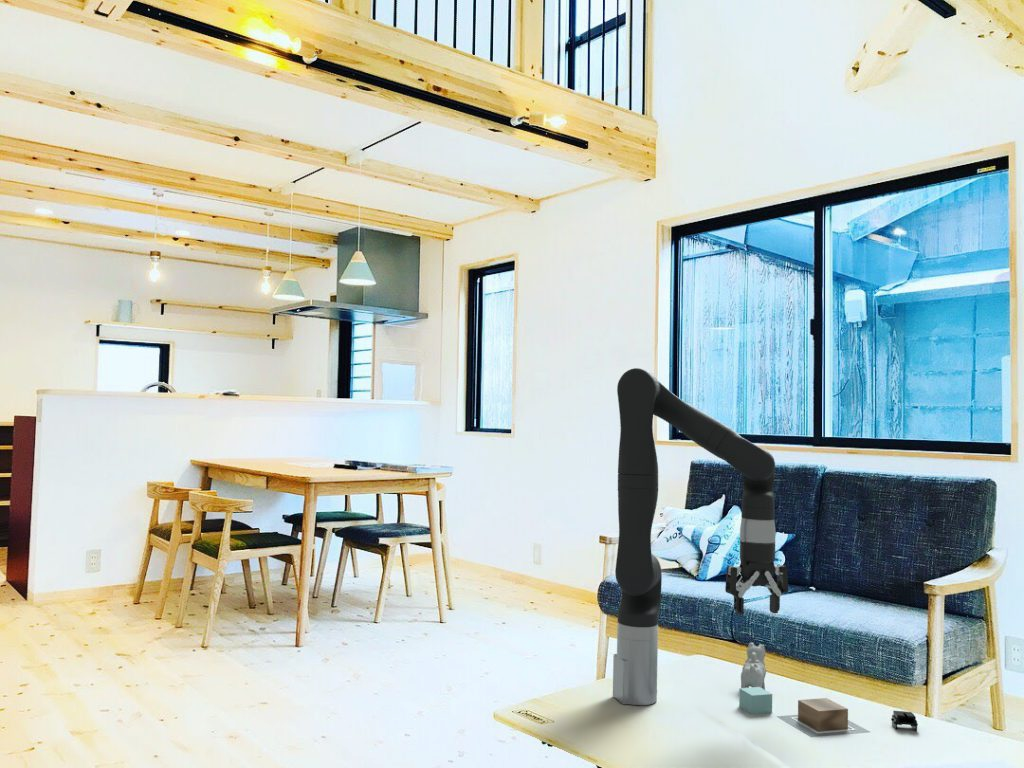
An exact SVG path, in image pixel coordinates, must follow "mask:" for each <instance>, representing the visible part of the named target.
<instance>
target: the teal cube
mask: <svg viewBox="0 0 1024 768" xmlns="http://www.w3.org/2000/svg"><path fill="white" fill-rule="evenodd" d="M738 696H739V699H738V701H739V704H738V706H739V707H740V708H741V709H743V710H745V711H746V712H747V713H749V714H751V715H757V714H768V713H769V714H771V713H773V693H771V692H769V691H767V690H766V689H765V690H764V689H762V688H760V687H751V686H750V687H749V688H741V687H740V688H739V694H738Z"/></svg>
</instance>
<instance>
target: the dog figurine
mask: <svg viewBox="0 0 1024 768" xmlns="http://www.w3.org/2000/svg"><path fill="white" fill-rule="evenodd" d="M765 649H766V648H765V645H764V644H758V646H757V645H755V643H754V642H749V643H748V646H747V649H746V656H747V659H746V660H745V661H744V664H743V666H742V669H741V670H742V671H741V674H740V688H751V687H760V688H762V689H764V690H766V686H765V678H766V675H767V668H766V664H765V657H766V652H765V651H766V650H765Z"/></svg>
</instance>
